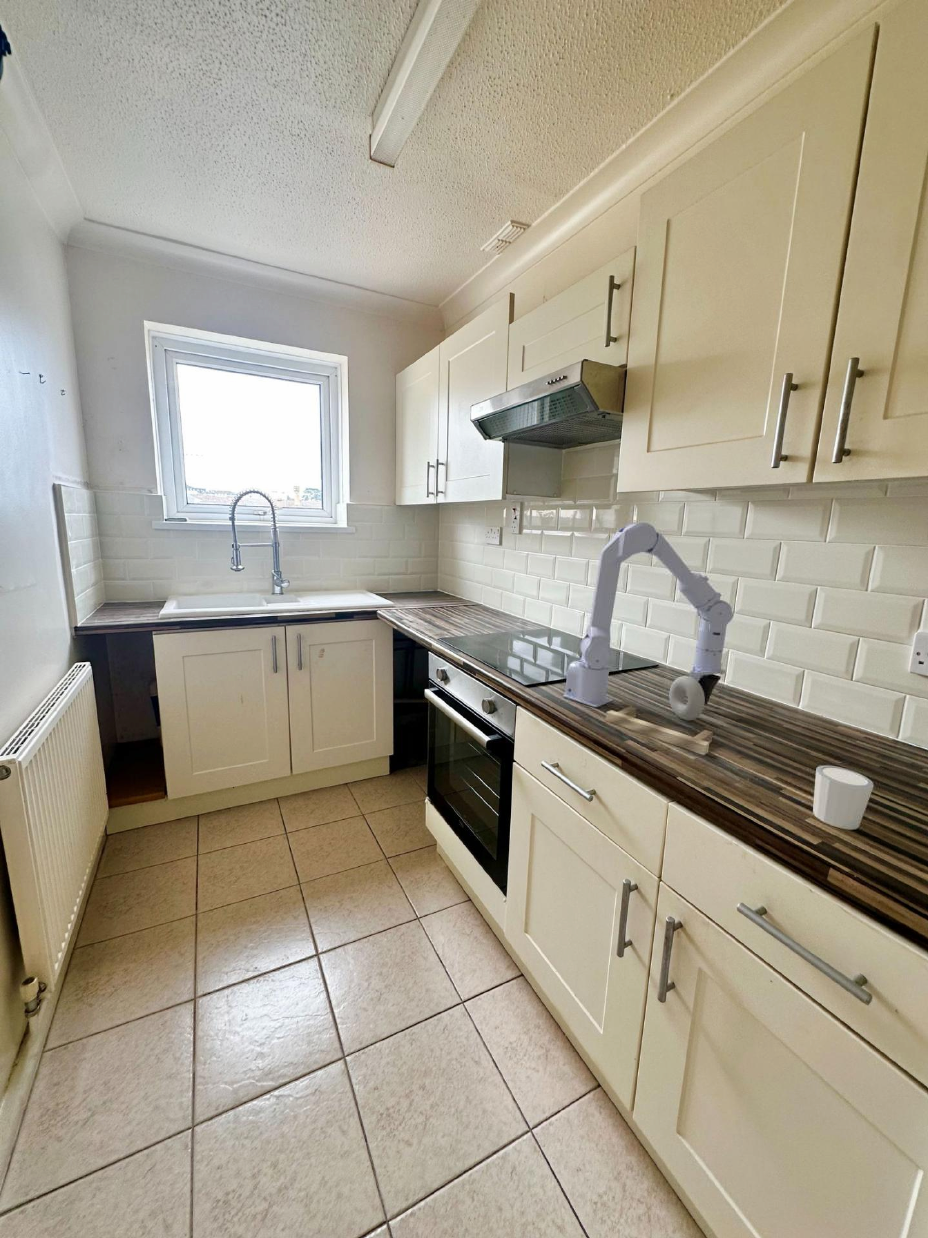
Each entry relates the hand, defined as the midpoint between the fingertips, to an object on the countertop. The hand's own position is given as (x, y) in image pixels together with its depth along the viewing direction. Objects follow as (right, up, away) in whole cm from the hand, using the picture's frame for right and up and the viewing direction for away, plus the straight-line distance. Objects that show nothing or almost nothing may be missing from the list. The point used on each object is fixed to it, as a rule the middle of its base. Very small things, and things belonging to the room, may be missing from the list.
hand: (701, 703), depth 118 cm
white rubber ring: (-7, -3, -7) cm, 10 cm away
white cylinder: (-1, -10, -44) cm, 45 cm away
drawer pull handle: (-16, -3, -15) cm, 22 cm away
